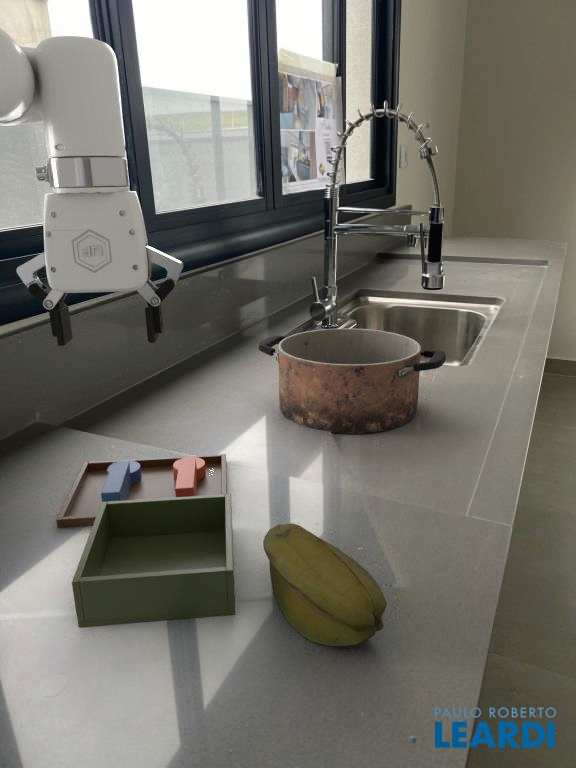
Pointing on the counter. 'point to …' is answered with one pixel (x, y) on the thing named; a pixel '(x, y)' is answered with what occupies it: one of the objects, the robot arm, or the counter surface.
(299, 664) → the counter surface
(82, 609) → the bin
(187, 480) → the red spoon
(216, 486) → the tray
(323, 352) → the cooking pot
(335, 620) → the fruit
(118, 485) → the blue block
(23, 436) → the counter surface
